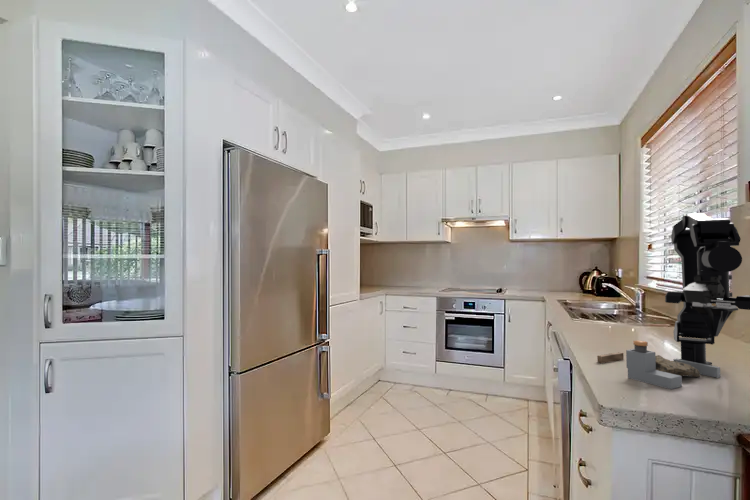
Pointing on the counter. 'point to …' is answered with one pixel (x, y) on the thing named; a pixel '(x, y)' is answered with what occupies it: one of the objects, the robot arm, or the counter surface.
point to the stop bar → (610, 357)
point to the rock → (675, 367)
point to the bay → (645, 371)
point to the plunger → (640, 346)
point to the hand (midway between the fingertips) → (714, 336)
